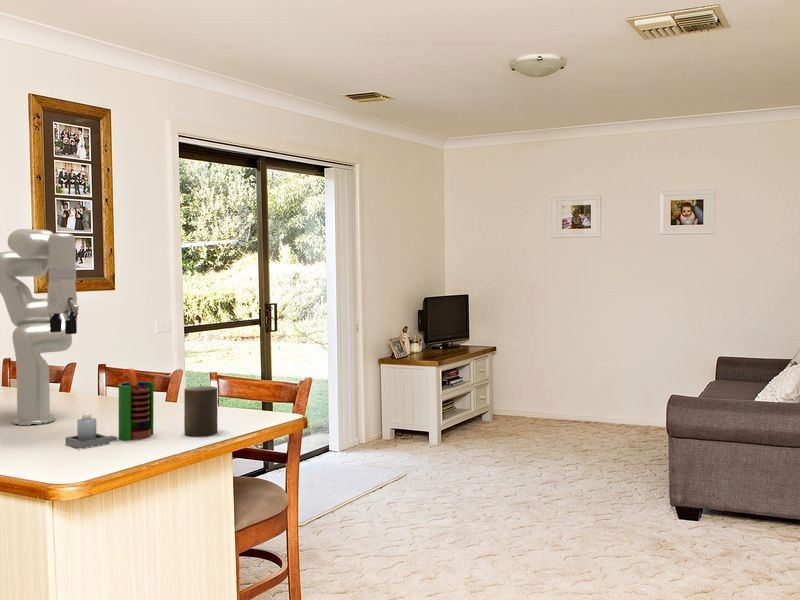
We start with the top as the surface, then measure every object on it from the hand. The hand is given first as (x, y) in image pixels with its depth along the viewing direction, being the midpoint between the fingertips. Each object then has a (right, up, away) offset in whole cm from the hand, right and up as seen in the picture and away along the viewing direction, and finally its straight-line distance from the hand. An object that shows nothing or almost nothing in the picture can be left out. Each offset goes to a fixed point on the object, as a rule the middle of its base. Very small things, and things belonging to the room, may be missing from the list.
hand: (63, 332), depth 235 cm
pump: (+12, -31, -12) cm, 35 cm away
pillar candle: (+40, -30, +3) cm, 51 cm away
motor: (+22, -31, -3) cm, 38 cm away
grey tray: (+13, -31, -11) cm, 35 cm away
